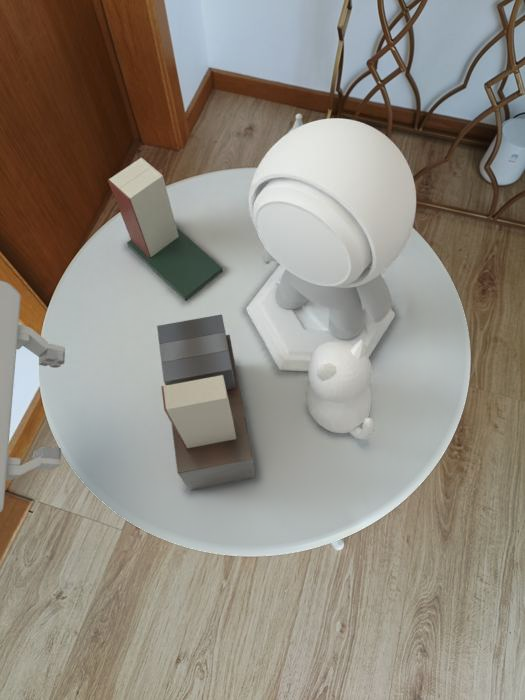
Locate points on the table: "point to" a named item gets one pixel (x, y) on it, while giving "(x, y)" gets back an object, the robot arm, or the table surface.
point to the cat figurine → (341, 388)
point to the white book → (199, 411)
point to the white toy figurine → (328, 237)
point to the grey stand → (198, 363)
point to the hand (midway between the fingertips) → (60, 406)
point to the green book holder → (159, 230)
